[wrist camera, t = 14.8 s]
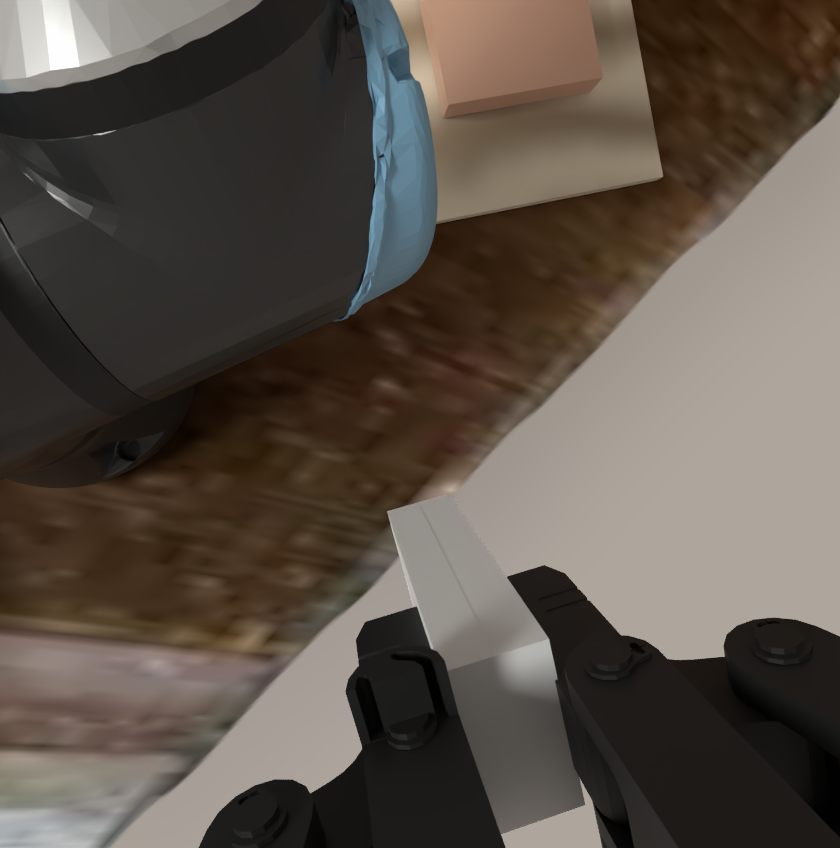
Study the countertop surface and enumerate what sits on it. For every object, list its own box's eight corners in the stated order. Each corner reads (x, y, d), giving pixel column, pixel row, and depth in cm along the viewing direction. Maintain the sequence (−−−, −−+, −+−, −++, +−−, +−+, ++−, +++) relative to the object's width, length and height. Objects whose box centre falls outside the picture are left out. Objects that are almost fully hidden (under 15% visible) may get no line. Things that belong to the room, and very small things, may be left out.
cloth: (657, 180, 44) (663, 176, 43) (401, 230, 42) (403, 227, 41) (595, -158, 42) (600, -168, 41) (324, -122, 40) (324, -132, 39)
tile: (602, 77, 40) (565, -124, 39) (448, 104, 39) (405, -102, 38) (589, 93, 42) (553, -98, 41) (442, 119, 41) (401, -76, 40)
